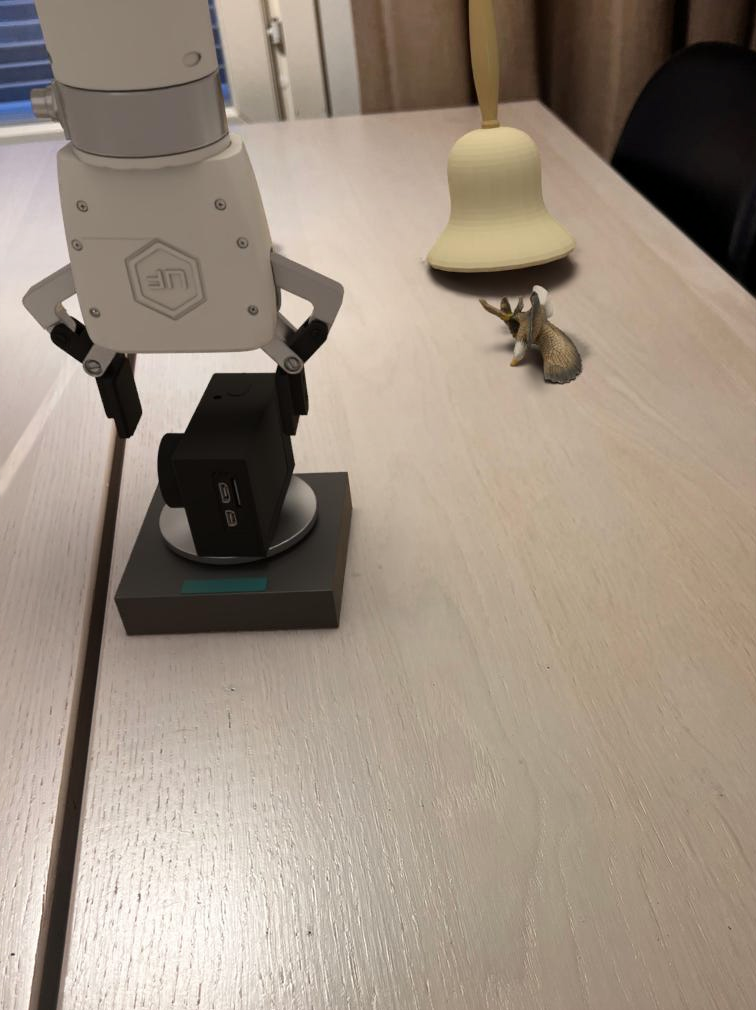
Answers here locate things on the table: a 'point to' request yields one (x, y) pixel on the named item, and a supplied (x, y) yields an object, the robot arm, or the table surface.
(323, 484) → the scale
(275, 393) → the digital camera
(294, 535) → the scale pan
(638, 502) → the table surface
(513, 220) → the handbell
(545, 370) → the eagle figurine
